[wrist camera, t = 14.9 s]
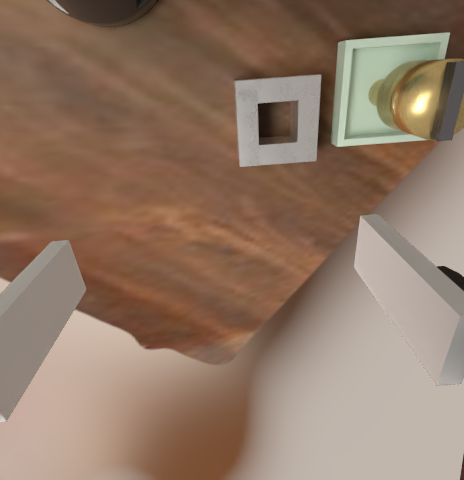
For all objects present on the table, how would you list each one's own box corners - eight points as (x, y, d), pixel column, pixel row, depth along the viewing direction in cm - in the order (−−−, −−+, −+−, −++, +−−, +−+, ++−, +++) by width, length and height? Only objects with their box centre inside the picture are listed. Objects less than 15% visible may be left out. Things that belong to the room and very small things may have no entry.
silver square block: (233, 80, 37) (235, 81, 33) (310, 74, 37) (321, 74, 33) (237, 157, 41) (239, 166, 37) (306, 152, 41) (316, 161, 37)
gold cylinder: (351, 123, 39) (407, 145, 28) (357, 64, 36) (423, 61, 25) (402, 119, 39) (480, 140, 28) (413, 59, 36) (506, 55, 25)
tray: (338, 42, 36) (346, 40, 33) (435, 34, 36) (450, 32, 33) (330, 142, 41) (336, 146, 38) (415, 136, 41) (427, 139, 39)
